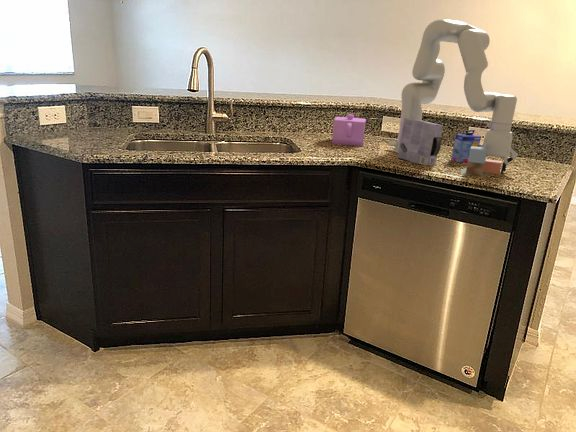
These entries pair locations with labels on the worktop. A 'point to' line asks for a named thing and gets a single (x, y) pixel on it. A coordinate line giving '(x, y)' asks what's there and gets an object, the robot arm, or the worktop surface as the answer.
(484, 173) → the baseplate
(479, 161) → the block blue
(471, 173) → the block walnut
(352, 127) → the teapot
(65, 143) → the worktop surface
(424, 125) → the cake pan box
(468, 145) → the ink cartridge box
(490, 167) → the block red
